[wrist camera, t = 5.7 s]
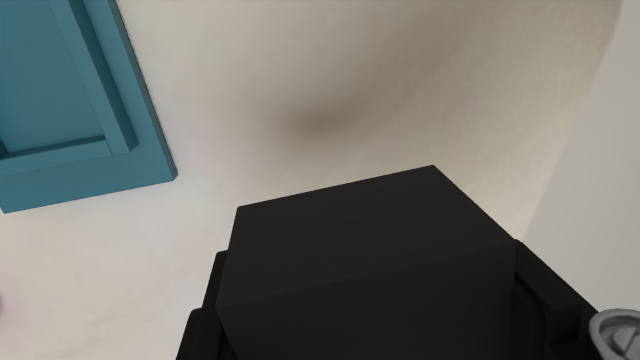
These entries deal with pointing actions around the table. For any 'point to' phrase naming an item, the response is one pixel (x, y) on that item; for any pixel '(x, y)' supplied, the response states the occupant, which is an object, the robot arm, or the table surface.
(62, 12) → the dock
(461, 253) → the black block
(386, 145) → the table surface
